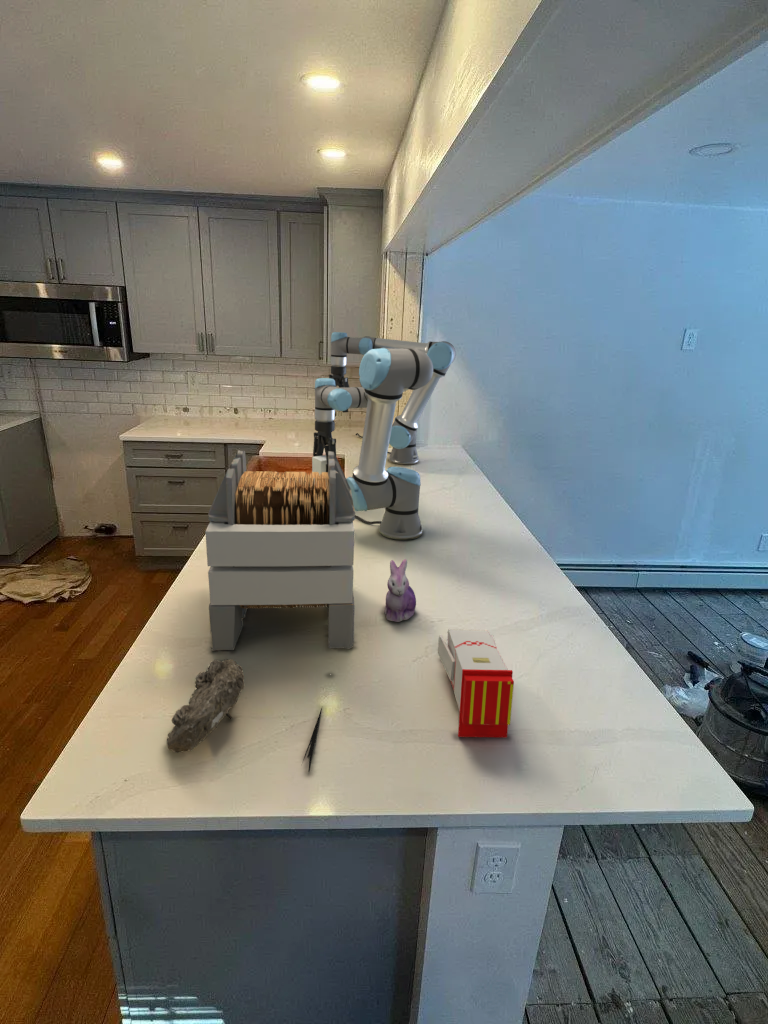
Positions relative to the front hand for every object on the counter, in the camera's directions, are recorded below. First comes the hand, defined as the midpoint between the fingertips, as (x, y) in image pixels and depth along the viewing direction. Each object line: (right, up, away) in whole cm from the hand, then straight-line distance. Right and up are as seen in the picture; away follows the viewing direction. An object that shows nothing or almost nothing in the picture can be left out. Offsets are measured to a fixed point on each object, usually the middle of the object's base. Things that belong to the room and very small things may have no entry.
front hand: (324, 478), depth 222 cm
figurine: (+27, -40, -74) cm, 88 cm away
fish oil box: (0, -4, +2) cm, 4 cm away
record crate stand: (-2, -39, -76) cm, 86 cm away
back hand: (+1, +37, +58) cm, 69 cm away
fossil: (-9, -52, -113) cm, 125 cm away
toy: (+41, -51, -103) cm, 122 cm away
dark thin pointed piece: (+11, -53, -113) cm, 125 cm away
